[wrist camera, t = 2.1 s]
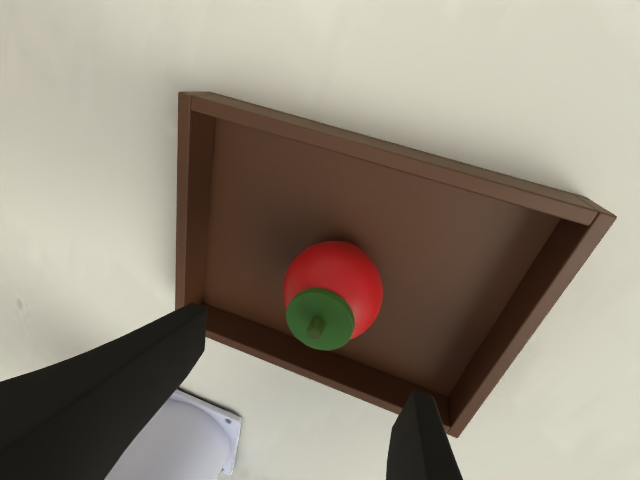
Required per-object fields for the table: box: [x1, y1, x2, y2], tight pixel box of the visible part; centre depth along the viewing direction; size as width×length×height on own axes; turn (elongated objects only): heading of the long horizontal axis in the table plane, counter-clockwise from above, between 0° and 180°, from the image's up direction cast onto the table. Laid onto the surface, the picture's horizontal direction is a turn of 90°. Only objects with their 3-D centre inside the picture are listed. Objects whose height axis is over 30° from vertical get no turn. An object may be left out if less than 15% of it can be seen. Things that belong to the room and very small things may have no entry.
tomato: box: [283, 241, 383, 350], centre depth 15 cm, size 5×5×6 cm
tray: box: [175, 92, 617, 438], centre depth 16 cm, size 17×13×2 cm
